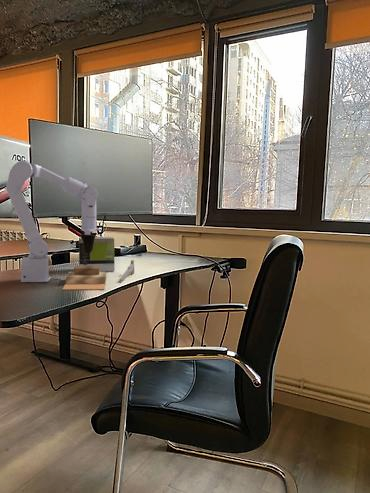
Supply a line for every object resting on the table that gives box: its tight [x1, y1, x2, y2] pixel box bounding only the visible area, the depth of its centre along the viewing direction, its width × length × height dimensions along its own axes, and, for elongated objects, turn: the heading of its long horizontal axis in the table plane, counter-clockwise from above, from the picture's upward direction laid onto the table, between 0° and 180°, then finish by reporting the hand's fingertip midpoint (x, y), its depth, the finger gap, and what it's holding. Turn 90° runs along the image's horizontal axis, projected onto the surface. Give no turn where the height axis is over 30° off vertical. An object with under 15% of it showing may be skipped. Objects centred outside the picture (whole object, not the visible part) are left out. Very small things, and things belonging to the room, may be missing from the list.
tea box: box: [78, 236, 115, 272], centre depth 174 cm, size 15×10×15 cm, turn 104°
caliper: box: [118, 259, 135, 284], centre depth 158 cm, size 20×1×6 cm, turn 173°
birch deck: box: [65, 271, 107, 285], centre depth 148 cm, size 14×10×3 cm
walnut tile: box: [73, 265, 100, 275], centre depth 149 cm, size 9×6×2 cm, turn 99°
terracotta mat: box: [61, 283, 106, 291], centre depth 139 cm, size 14×9×1 cm, turn 99°
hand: (88, 251), depth 156 cm, fingers open, 6 cm apart
